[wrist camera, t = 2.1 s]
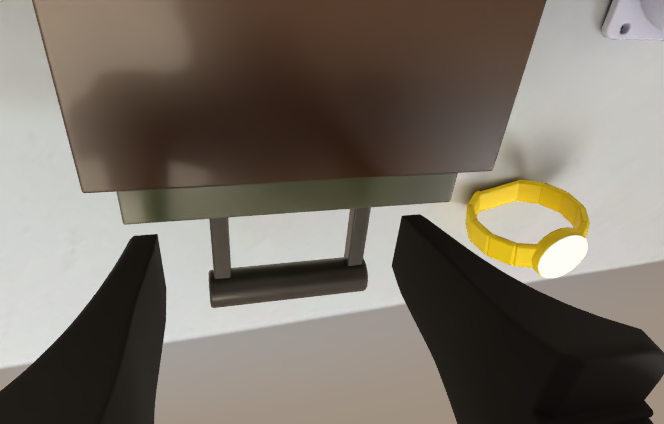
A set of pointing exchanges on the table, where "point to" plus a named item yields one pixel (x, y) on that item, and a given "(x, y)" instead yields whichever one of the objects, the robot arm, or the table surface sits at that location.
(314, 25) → the cabinet
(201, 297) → the table surface
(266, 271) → the drawer
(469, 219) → the watch
